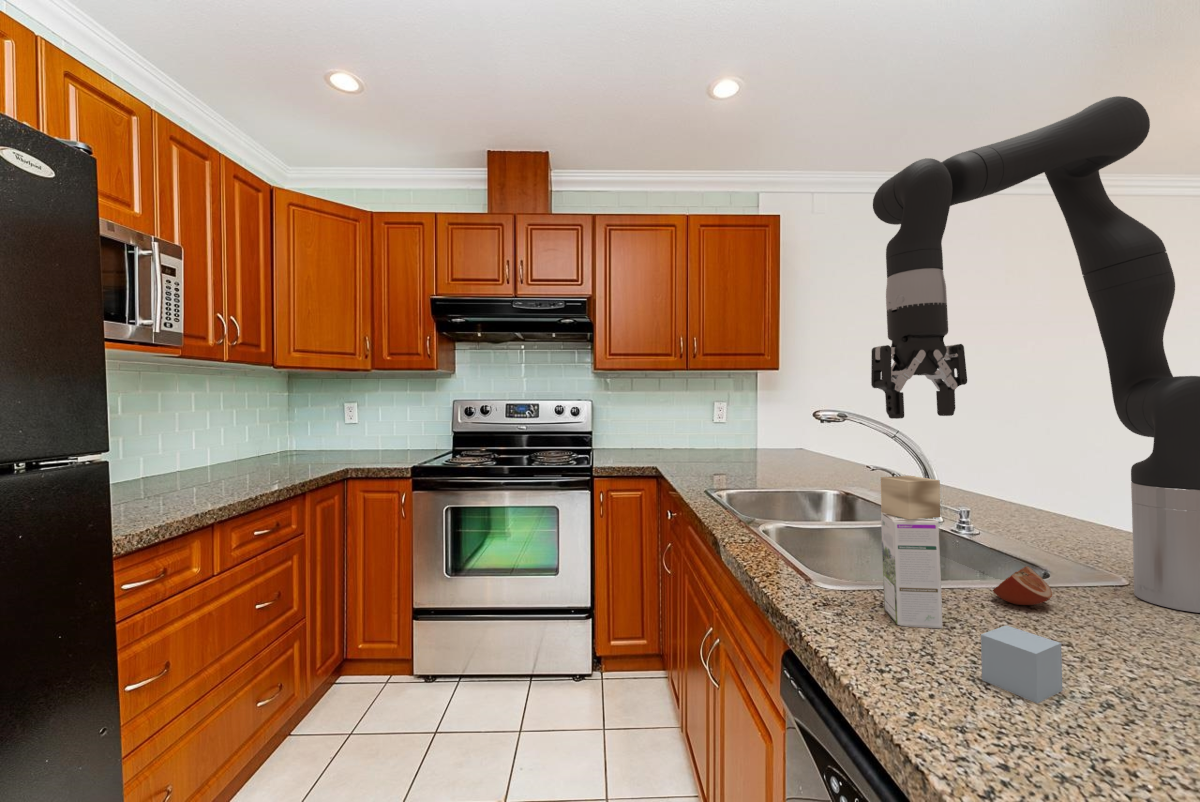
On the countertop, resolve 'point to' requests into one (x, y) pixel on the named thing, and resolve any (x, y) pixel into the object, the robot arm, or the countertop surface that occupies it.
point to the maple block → (910, 497)
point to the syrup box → (911, 571)
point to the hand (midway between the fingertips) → (921, 417)
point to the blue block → (1022, 663)
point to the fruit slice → (1024, 588)
